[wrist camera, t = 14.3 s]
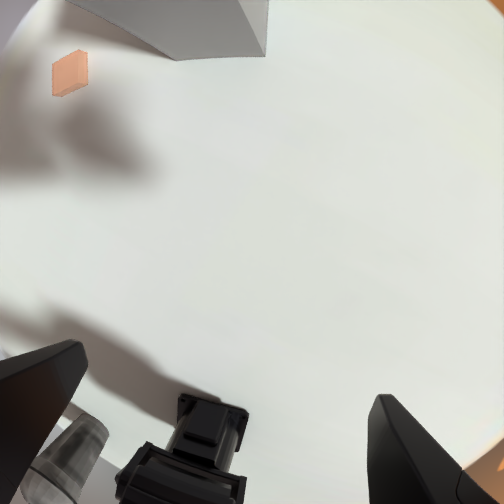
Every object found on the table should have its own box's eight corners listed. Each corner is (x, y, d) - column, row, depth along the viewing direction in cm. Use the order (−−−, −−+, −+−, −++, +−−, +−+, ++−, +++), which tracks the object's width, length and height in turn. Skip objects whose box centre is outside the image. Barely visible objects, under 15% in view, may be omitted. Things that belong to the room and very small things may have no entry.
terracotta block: (90, 85, 19) (78, 82, 18) (64, 97, 20) (52, 95, 18) (89, 53, 18) (78, 49, 17) (63, 66, 19) (52, 64, 17)
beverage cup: (67, 417, 32) (-9, 510, 13) (78, 397, 30) (-14, 507, 11) (109, 450, 32) (43, 551, 14) (126, 435, 30) (49, 556, 11)
